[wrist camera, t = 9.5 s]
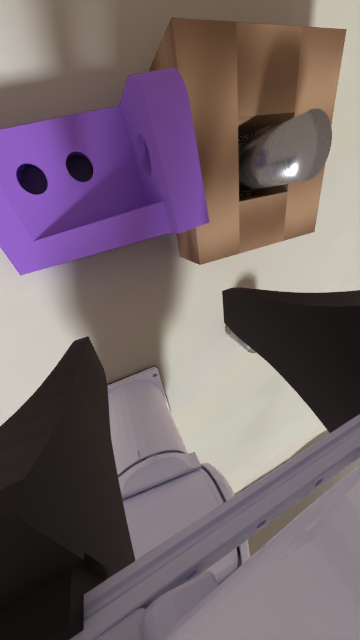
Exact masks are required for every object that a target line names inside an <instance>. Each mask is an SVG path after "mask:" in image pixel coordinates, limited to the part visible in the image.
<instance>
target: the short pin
mask: <svg viewBox="0 0 360 640" xmlns="http://www.w3.org/2000/svg"><path fill="white" fill-rule="evenodd" d="M225 331H226V333H227V334H228V335H229V336H230V337H231V338H233V339H234V340H235V341H236V342H237V343H239V344H240V345H241V346H242V347H244V348H245V349H246V350H247V351H248V352H250V353H256V352H255V351H254V350H253V349H252V348H250V347H249V346H248V345H247V344H245V343H244V342H243V341H242V340H241V339H239V338H238V337H237V336H236V335H235V334H234V333H233V332H232V331H231V330H230V329H229V328H228V326H227V325H226V326H225Z"/></svg>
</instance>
